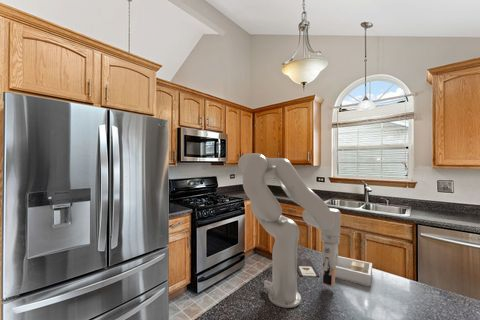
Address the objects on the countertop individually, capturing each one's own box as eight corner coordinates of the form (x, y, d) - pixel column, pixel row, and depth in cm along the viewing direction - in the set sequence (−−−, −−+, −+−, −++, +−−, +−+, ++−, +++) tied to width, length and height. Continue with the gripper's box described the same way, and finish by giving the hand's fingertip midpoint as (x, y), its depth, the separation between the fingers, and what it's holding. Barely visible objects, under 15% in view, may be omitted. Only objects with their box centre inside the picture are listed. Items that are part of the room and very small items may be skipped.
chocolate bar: (309, 259, 124) (319, 275, 106) (309, 260, 124) (319, 277, 106) (292, 258, 124) (299, 275, 106) (292, 260, 124) (299, 277, 106)
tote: (326, 275, 107) (326, 264, 107) (332, 264, 119) (332, 254, 119) (370, 287, 97) (370, 275, 97) (372, 273, 109) (372, 263, 109)
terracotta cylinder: (321, 283, 95) (321, 266, 95) (323, 278, 99) (324, 262, 99) (333, 287, 92) (334, 270, 92) (335, 282, 96) (336, 266, 96)
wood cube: (351, 275, 106) (351, 264, 106) (352, 271, 110) (352, 261, 110) (363, 278, 103) (363, 267, 103) (364, 274, 107) (364, 263, 107)
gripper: (336, 245, 87) (334, 293, 86) (343, 235, 101) (341, 276, 101) (316, 241, 91) (314, 286, 90) (325, 231, 105) (324, 271, 105)
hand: (328, 280), depth 96 cm, fingers closed on terracotta cylinder, 5 cm apart
